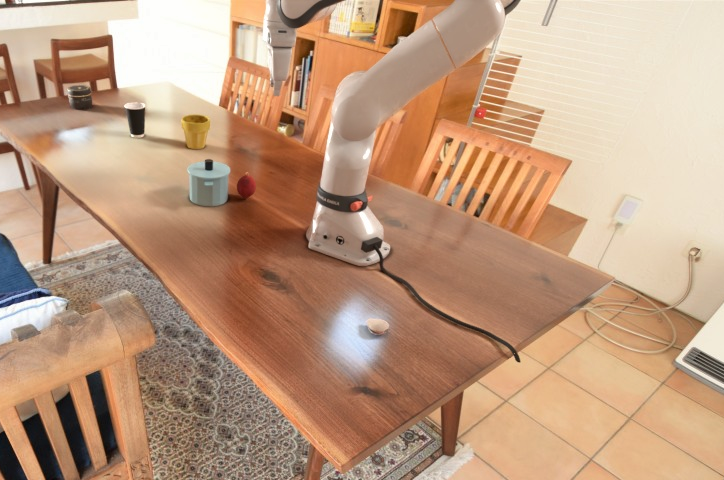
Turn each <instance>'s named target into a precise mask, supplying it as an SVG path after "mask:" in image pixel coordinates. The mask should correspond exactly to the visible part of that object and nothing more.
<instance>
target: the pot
mask: <svg viewBox="0 0 724 480" xmlns="http://www.w3.org/2000/svg"><path fill="white" fill-rule="evenodd" d="M229 175H230V174H229ZM229 175H227V176H226V177H223V178H219V179H200V178H196V177H193V176H191V175H190V174H189V173H188V181H189V182H188V191H189V201H191V202H192V203H193V204H194V205H197V206H201V207H218V206H221V205H223V204H225V203H227V201H228V199H229V177H230V176H229Z"/></svg>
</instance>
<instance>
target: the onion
mask: <svg viewBox="0 0 724 480" xmlns="http://www.w3.org/2000/svg"><path fill="white" fill-rule="evenodd" d="M256 189H257V183H256V181H255V179H254V178H253V177H252V176H251V175H250V172H248V171H247V172H245V174H244V175H243V176H241V177H240V178H239V179H238V181H237V183H236V191H237V193H238V194H239V196H240V197H242V198H243V199H245V200H246V199H248V198H250V197H252V196H253V195H254V194H255V192H256Z"/></svg>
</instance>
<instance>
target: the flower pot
mask: <svg viewBox="0 0 724 480" xmlns="http://www.w3.org/2000/svg"><path fill="white" fill-rule="evenodd" d="M181 129H182V131H183V134H184V139H185V143H186V147H187V148H189V149H190V150H191V149H192V150H202V149H204V148H205V146H206V142H207V137H208V132H209V131H210V129H211V118H210V117H209V116H207V115H204V114H187V115H184V116H182V118H181Z"/></svg>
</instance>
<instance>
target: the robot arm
mask: <svg viewBox="0 0 724 480" xmlns="http://www.w3.org/2000/svg"><path fill="white" fill-rule="evenodd" d="M264 1H265V11H264V15H263V21H262V37H261V38H262V39H261V40H262V41H264V42H266V49H267V56H266V58H267V59H266V60H267V66H268V69H269V74H270V75H269V76H270V77H269V78H270V79H269V87H271V88H273V90H272V94H273V97H280V96H281V91H282V86H283V82H286V81H287V80H288V76H289V72H290V67H291V61H292V55H293V48H294V47H295V46H296V42H297V34H298V33H297V32H298V29H300V28H302V27H305V26H307V25H309V24H314V23H316V22H320V21H323V20H324V19H326V18H328V17H329V16H331V15H332V14H333V13H334V11H335V10H336V8H337V6H338V4H339V3H342V2H345V1H346V0H264ZM520 2H521V0H454V1H453V2H452V3H451V4H450V5H449V6H448V7H446V8H445V9H443V10H442V11H441V12H439V13H438V14H437V15H435V16H434V17H432V18H431V19H430V20H428V21H426V22H425V23H424V24H423V25H421V26H420V27H418V28H416V30H414V31H413V32H412V33H410V34H409V35H408V36H406V37H404V39H402V40H401V41H399V42H398V43H397V44H396V45H394V46H393V47H392V48H391V49H390V50H389V51H388V52H387V53H386V54H384V56H383V57H381V58H380V59H379V60H378V61H377V62H376V63H374V65H372V66H371V67H370V68H368V69H367V70H357V71H353V72H351V73H349V74H348V75H346V76H345V77H344V78H343V79H342V80H341V81H340V82H339V84H338V85H337V88H336V90H335V94H334V96H333V101H332V105H331V111H330V123H329V129H328V135H327V140H326V146H325V152H324V158H323V163H322V170H321V177H320V182H319V183H318V185H317V190H316V195H315V196H316V197H315V198H316V204H315V207H314V212H313V215H312V218H311V221H310V223H309V226H308V228H307V230H306V232H305V237H306V240H307V241H308V245H307V247H308V248H309V249H310V250H312V251H315V252H318V253H321V254H323V255H327V256H330V257H332V258H335V259H338V260H340V261H343V262H347V263H349V264H352V265H354V266H357V267H367V266H371V265H372V266H373V265H374V264H376V263H378V262H379V268H380V271H381V272H382V273H383V274H384V275H386V276H388V277H390V278H391V279H392V280H395V281H397V282H399V283H401V284H403V285H404V286H405V287H407V288H408V290H410V292H411V293H412V294H413V296H414V297H415V298H416V299H417V300H418V302H420V304H422V305H424V306H425V307H427V308H428V309H429V310H431V311H432V312H434V313H435V314H437V315H438V316H441V317H443V318H445V319H447V320H448V321H451V322H453V323H454V324H456V325H459V326H462V327H464V328H467V329H469V330H473V331H476V332H478V333H480V334H483V335H485V336H487V337H489V338H490V339H492V340H494V341H496V342H498V343H499V344H501V345H503V346H505V347H506V348H507V349H508V350H509V351H510V352H511V354H512V355H513V358H514V360H515V362H517V363H521V358H520V356H519V353H518V351H517V350H516V348H515V347H514V346H513V345H512V344H511V343H509V342H508V341H506V340H504V339H503V338H501V337H499V336H497V335H495V334H493V333H492V332H490V331H488V330H487V329H484V328H481V327H478V326H476V325H473V324H469V323H467V322H464V321H462V320H459V319H457V318H455V317H453V316H451V315H449V314H448V313H446V312H443V311H442V310H440V309H438V308H436V307H434V305H431V304H430V303H429V302H428V301H426V300H425V299H424V298H423V297H421V295H420V294H419V293H418V292H417V290H416V289H415V288H414V287H413V286H412V285H411V284H410V283H409V282H408V281H407V280H405V279H403V278H402V277H399V276H397V275H394V274H391V273H390V272H388V271H387V269H385V267H384V259H385V258H386V257H388V256H389V254H390V251H391V245H390V244H389V243H388V242H386V241H384V239H385V229H384V226H383V224H382V223H381V222H380V220H379V219H378V218H377V217H376V215H375V214H374V212H373V211H372V210H371V208H370V207H369V206H368V205H369V202H371V201H372V200H373V197H374V195H370V196H368V194H367V189H366V184H367V180H368V176H369V171H370V166H371V162H372V157H373V152H374V146H375V141H376V136H377V131H378V129H379V128H380V127H381V126H383V125H384V124H385V123H386V122H388V121H389V120H390V119H392V118H393V117H394V116H395V115H397V113H399V112H400V111H402V109H404V108H405V107H406V106H407V105H408V104H409V103H411V102H412V101H413V100H414V99H416V98H417V97H418V96H419V95H421V94H422V93H424V92H425V91H427V90H428V89H430V88H431V87H432V86H434V85H435V84H437V83H439V82H440V81H442V80H443V79H445V78H446V77H448V76H449V75H450V74H451V75H452V73H453V72H455V71H456V70H458V69H460V68H461V67H463V66H464V65H466V64H467V63H468V62H470V61H472V59H473V58H475V57H476V56H477V55H479V54H480V53H481V52H482V51H484V50H485V48H487V47H488V46H489V45H491V43H493V42H494V41H495V40H496V39H497V38H498V37H499V36H500V34H501V33H502V31H503V29H504V27H505V21H506V16H507V15H509V14H510V13H511V12H512V11H514V10H515V9H516V8H517V6H518V5H519V4H520ZM514 353H515V354H514Z"/></svg>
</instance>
